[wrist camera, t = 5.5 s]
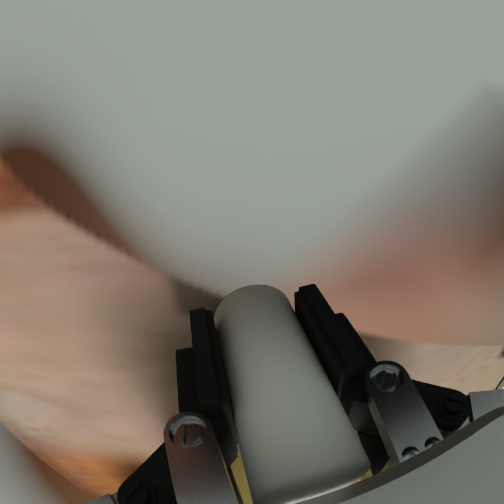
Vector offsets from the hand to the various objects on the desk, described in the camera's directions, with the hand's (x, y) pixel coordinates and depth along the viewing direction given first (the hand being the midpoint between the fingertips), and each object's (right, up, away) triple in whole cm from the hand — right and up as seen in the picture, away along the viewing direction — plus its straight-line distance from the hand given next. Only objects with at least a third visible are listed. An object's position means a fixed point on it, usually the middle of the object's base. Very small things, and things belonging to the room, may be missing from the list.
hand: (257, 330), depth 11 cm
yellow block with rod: (+1, -6, +4) cm, 7 cm away
